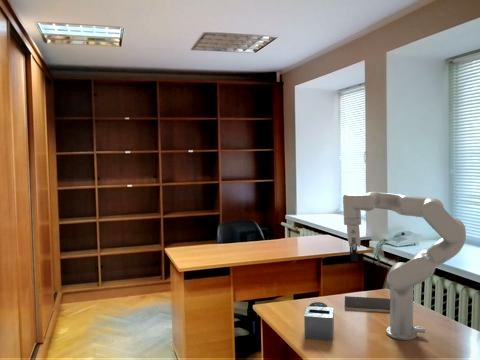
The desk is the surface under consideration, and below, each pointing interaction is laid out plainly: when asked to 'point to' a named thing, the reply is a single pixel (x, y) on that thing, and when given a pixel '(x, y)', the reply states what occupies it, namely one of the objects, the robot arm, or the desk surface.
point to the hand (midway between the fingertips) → (354, 258)
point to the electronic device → (318, 304)
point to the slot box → (319, 323)
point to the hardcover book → (367, 304)
